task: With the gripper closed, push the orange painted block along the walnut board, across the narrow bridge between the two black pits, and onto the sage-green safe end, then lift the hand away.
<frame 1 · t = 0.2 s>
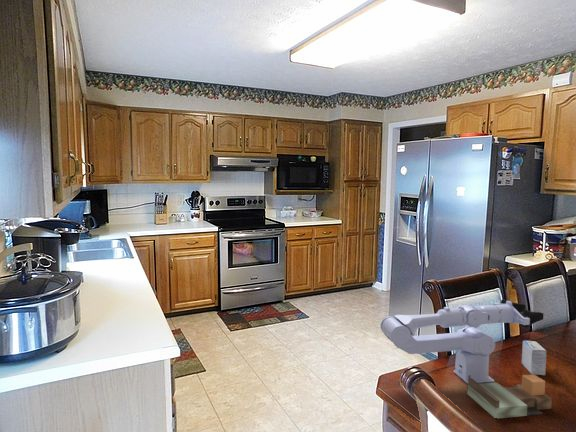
hand: (533, 311, 123), 21 cm above the table, tool horizontal, fingers open, 7 cm apart
medicine box: (532, 370, 128), on the table
orange block: (532, 391, 108), point 3 cm above the table, touching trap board
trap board: (510, 403, 108), on the table
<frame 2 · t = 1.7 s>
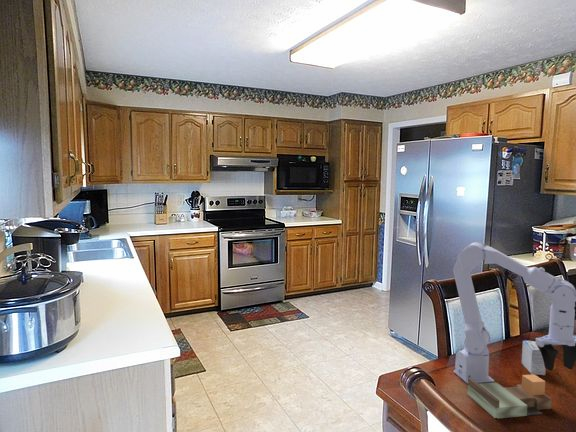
hand: (558, 368, 109), 9 cm above the table, tool pointing down, fingers open, 6 cm apart
nothing on the table moved.
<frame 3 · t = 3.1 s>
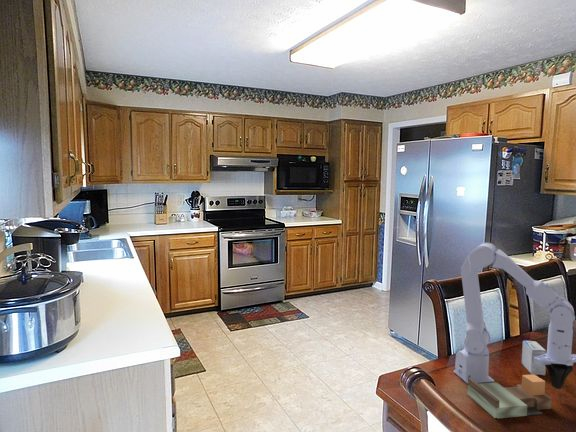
hand: (556, 387, 110), 4 cm above the table, tool pointing down, fingers closed
nothing on the table moved.
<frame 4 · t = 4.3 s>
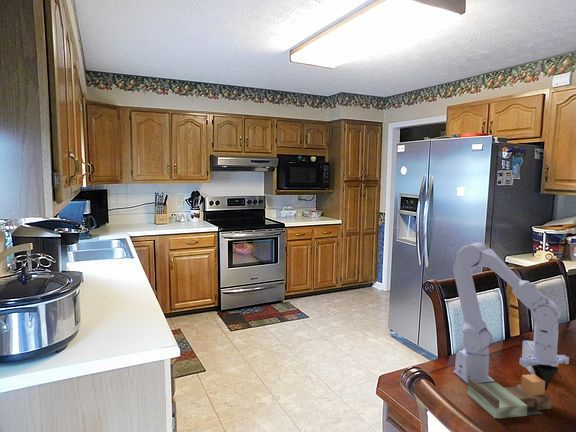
hand: (542, 388, 109), 4 cm above the table, tool pointing down, fingers closed
orange block: (532, 391, 108), point 3 cm above the table, touching gripper, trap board
everything else where it was.
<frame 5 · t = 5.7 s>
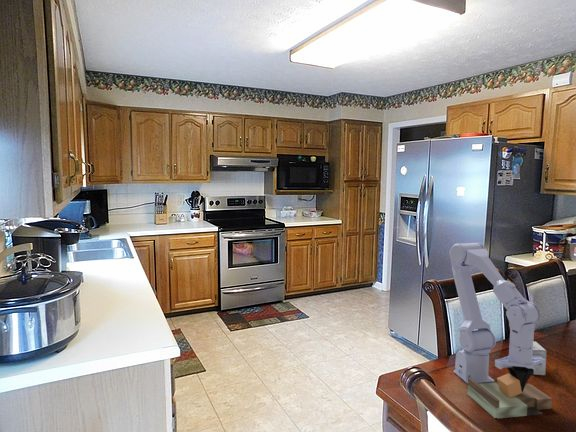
hand: (518, 390, 108), 4 cm above the table, tool pointing down, fingers closed
orange block: (510, 391, 107), point 4 cm above the table, tilted 16°, touching gripper
everything else where it was.
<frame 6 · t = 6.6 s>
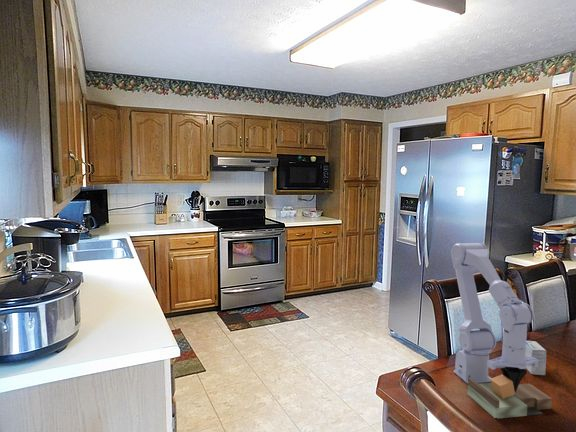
hand: (511, 390, 107), 4 cm above the table, tool pointing down, fingers closed
orange block: (503, 392, 107), point 4 cm above the table, tilted 16°, touching gripper, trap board
everything else where it was.
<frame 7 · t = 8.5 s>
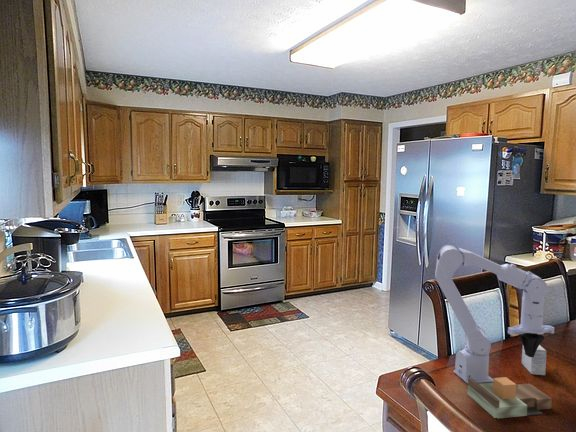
hand: (529, 355, 117), 9 cm above the table, tool pointing down, fingers closed
orange block: (503, 394, 107), point 3 cm above the table, touching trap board
everything else where it was.
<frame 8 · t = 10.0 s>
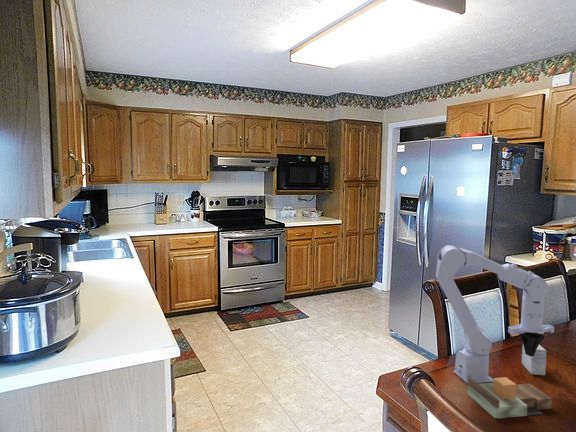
hand: (529, 355, 118), 9 cm above the table, tool pointing down, fingers closed
nothing on the table moved.
at the end: orange block 1.7 cm from the target spot, point 3.0 cm above the table; orange block tilted 0° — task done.
